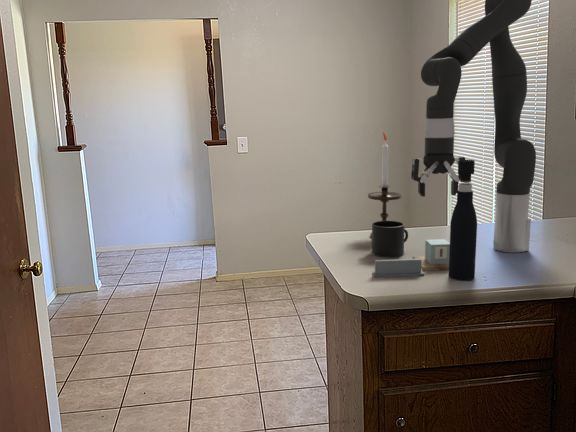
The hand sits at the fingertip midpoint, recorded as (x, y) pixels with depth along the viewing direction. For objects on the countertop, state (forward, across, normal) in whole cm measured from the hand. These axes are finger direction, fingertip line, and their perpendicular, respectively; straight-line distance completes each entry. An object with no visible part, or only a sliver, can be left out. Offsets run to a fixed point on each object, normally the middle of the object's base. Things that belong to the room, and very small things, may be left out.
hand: (437, 195), depth 153 cm
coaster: (+19, 0, +1) cm, 19 cm away
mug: (+19, +10, -12) cm, 25 cm away
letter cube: (+18, 0, +1) cm, 18 cm away
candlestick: (+19, +8, -32) cm, 38 cm away
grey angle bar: (+19, +13, +9) cm, 25 cm away
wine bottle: (+19, -2, +13) cm, 23 cm away
